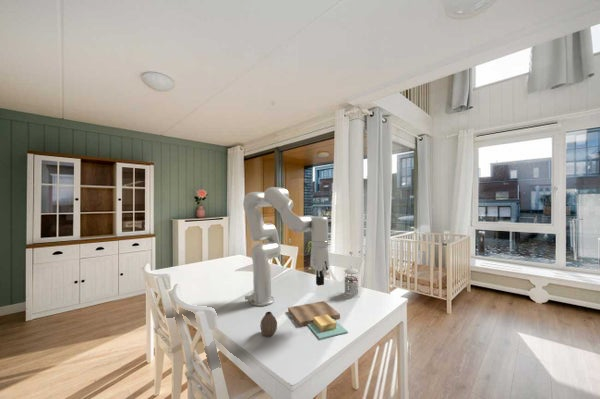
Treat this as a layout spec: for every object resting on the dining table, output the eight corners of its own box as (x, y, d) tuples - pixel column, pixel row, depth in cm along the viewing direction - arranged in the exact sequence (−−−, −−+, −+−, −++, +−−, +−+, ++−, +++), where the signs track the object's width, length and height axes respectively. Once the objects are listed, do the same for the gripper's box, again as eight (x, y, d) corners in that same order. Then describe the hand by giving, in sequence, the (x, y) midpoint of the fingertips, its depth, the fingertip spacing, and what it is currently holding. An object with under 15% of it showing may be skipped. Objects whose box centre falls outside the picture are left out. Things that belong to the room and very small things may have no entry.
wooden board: (300, 326, 108) (300, 322, 108) (288, 311, 122) (288, 307, 122) (340, 318, 115) (339, 314, 115) (324, 304, 130) (324, 301, 130)
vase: (261, 329, 106) (260, 309, 106) (277, 329, 106) (277, 308, 106) (259, 339, 99) (259, 317, 99) (277, 338, 99) (276, 316, 99)
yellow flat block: (321, 331, 102) (321, 325, 102) (313, 322, 110) (313, 317, 110) (336, 328, 105) (336, 322, 105) (327, 319, 112) (327, 314, 112)
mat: (319, 339, 98) (319, 338, 98) (307, 325, 109) (307, 324, 109) (347, 332, 103) (347, 331, 103) (333, 319, 114) (333, 318, 114)
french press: (347, 298, 137) (347, 254, 137) (338, 291, 148) (338, 249, 148) (363, 296, 140) (362, 252, 140) (353, 289, 151) (353, 248, 151)
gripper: (305, 242, 117) (305, 280, 117) (319, 247, 103) (319, 291, 103) (319, 240, 120) (320, 278, 120) (335, 246, 106) (335, 289, 106)
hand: (320, 284), depth 111 cm, fingers closed
